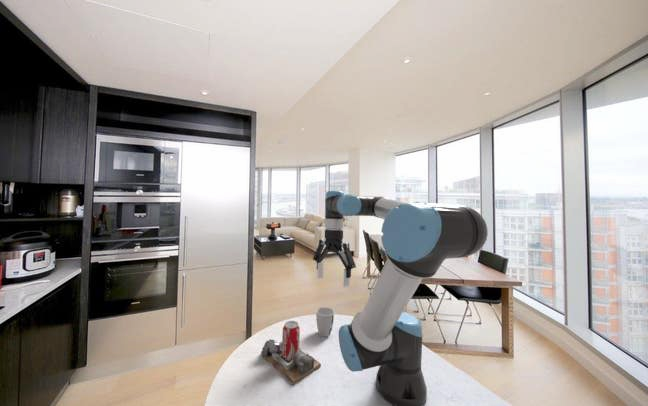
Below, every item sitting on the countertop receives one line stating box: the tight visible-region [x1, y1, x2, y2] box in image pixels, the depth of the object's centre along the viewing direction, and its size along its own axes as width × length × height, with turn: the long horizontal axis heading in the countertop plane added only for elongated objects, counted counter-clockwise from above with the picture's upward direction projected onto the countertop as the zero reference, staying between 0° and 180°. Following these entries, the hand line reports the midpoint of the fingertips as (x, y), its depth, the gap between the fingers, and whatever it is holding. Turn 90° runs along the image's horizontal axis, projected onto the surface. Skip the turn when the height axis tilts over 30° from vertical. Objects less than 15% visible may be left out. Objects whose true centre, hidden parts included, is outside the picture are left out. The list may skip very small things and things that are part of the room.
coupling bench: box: [260, 341, 322, 386], centre depth 84 cm, size 20×12×5 cm, turn 45°
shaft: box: [261, 339, 282, 358], centre depth 86 cm, size 6×6×4 cm
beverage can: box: [281, 320, 301, 361], centre depth 84 cm, size 6×6×12 cm
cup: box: [315, 306, 335, 338], centre depth 103 cm, size 8×8×10 cm
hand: (332, 281), depth 93 cm, fingers open, 13 cm apart
